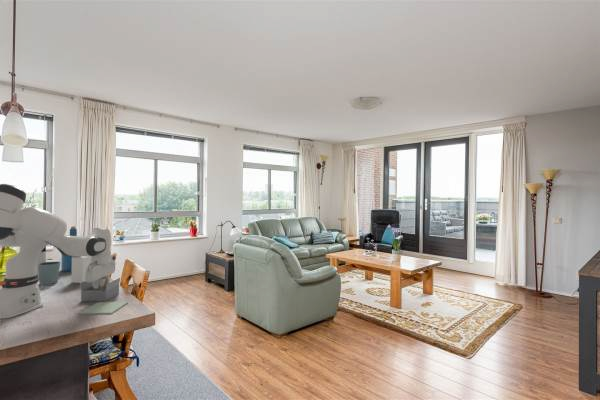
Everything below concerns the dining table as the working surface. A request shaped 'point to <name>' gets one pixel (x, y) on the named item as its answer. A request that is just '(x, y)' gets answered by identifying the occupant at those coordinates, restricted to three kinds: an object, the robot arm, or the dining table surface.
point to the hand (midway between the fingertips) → (100, 286)
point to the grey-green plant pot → (48, 273)
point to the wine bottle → (67, 260)
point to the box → (102, 284)
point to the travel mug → (41, 259)
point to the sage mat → (103, 308)
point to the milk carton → (79, 268)
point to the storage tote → (91, 295)
